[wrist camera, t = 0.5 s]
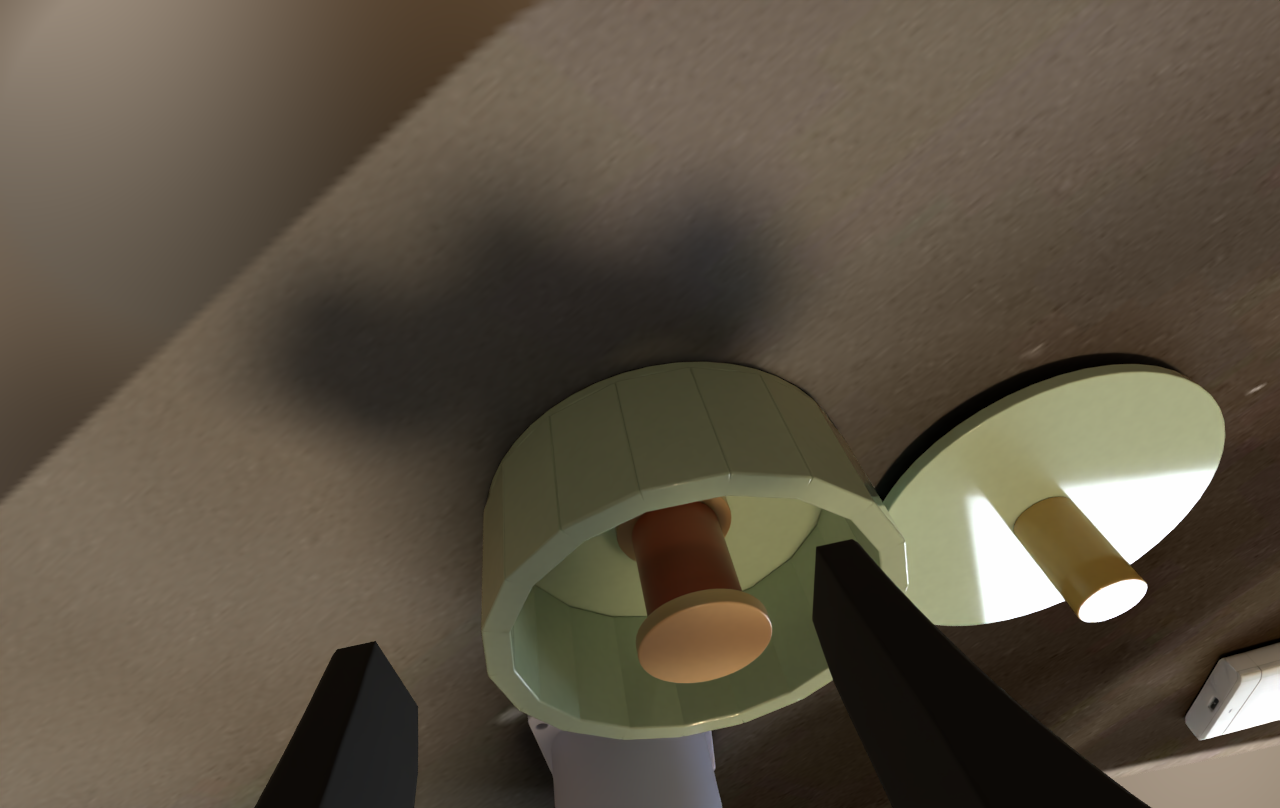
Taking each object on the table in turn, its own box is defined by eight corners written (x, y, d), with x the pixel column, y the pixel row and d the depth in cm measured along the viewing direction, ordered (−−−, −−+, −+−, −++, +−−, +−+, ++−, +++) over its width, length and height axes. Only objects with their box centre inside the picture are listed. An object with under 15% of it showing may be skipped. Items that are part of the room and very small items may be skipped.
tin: (834, 581, 29) (887, 692, 25) (529, 647, 28) (534, 771, 24) (859, 324, 21) (942, 429, 17) (433, 407, 20) (418, 536, 16)
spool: (730, 543, 25) (772, 667, 21) (622, 566, 25) (646, 695, 21) (725, 465, 23) (772, 590, 19) (606, 490, 23) (629, 620, 19)
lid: (1132, 569, 32) (1218, 665, 28) (847, 631, 31) (896, 739, 27) (1265, 318, 23) (1416, 408, 19) (876, 397, 23) (953, 505, 19)
